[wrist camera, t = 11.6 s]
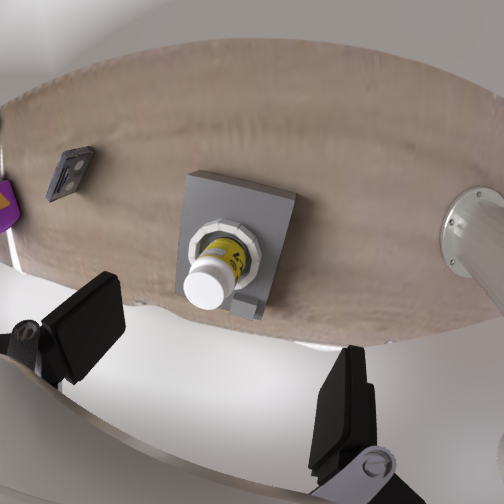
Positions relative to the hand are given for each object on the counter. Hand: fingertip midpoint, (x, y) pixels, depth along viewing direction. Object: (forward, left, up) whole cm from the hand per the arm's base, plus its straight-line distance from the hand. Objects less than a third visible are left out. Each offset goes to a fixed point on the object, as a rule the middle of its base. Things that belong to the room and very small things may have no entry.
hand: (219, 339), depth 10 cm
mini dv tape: (+31, +2, -24) cm, 39 cm away
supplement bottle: (+4, +7, -21) cm, 22 cm away
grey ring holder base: (+5, +7, -24) cm, 25 cm away
